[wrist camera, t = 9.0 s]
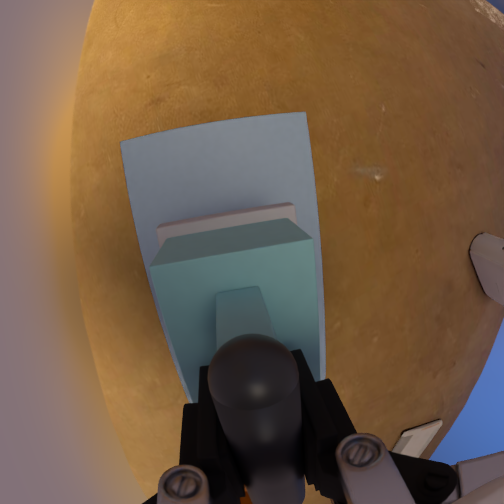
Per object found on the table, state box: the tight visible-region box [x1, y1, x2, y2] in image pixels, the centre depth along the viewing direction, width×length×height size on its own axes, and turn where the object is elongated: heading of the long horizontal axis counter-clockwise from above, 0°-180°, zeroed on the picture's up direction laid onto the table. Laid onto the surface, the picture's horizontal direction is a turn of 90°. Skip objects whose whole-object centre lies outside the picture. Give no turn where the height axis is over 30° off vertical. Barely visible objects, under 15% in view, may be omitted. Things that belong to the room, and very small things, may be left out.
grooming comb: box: [391, 420, 442, 458], centre depth 41 cm, size 18×10×1 cm, turn 174°
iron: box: [149, 202, 321, 504], centre depth 11 cm, size 12×6×9 cm, turn 8°
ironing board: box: [120, 112, 326, 403], centre depth 25 cm, size 13×28×5 cm, turn 8°
